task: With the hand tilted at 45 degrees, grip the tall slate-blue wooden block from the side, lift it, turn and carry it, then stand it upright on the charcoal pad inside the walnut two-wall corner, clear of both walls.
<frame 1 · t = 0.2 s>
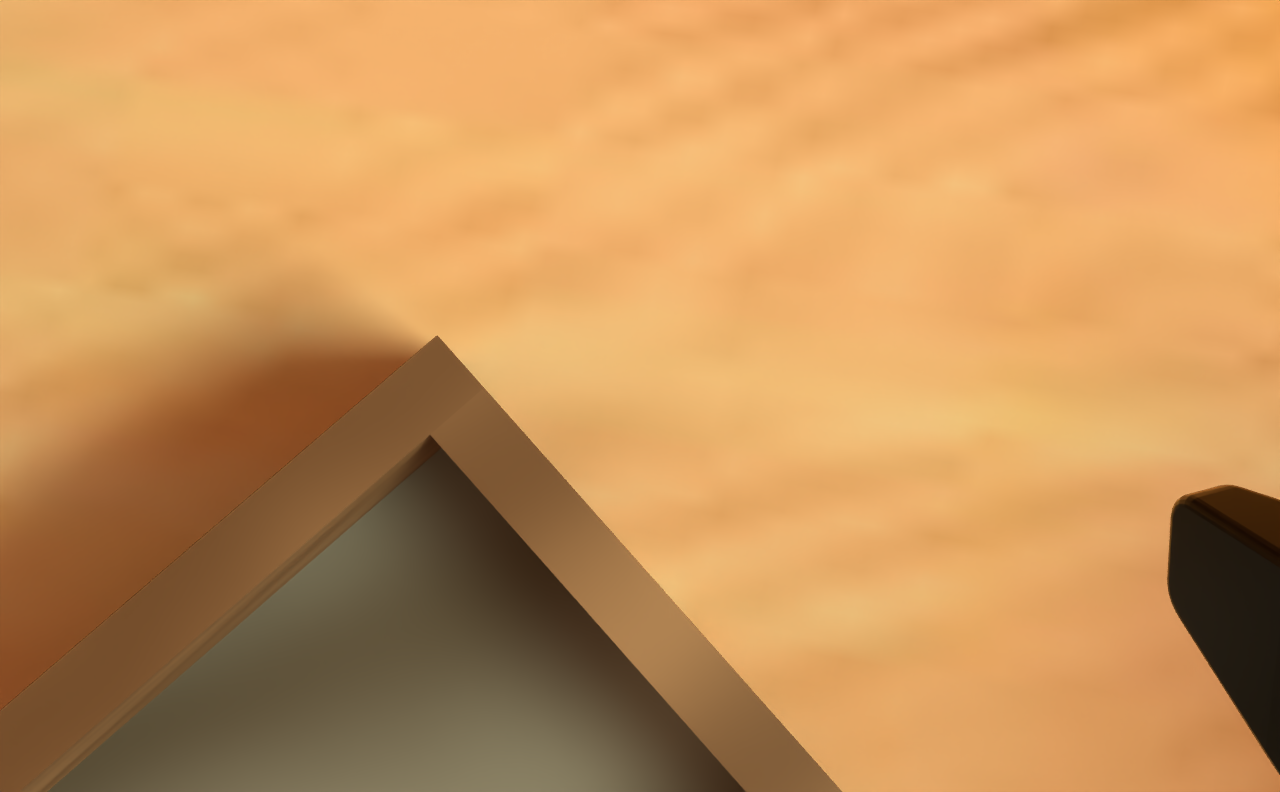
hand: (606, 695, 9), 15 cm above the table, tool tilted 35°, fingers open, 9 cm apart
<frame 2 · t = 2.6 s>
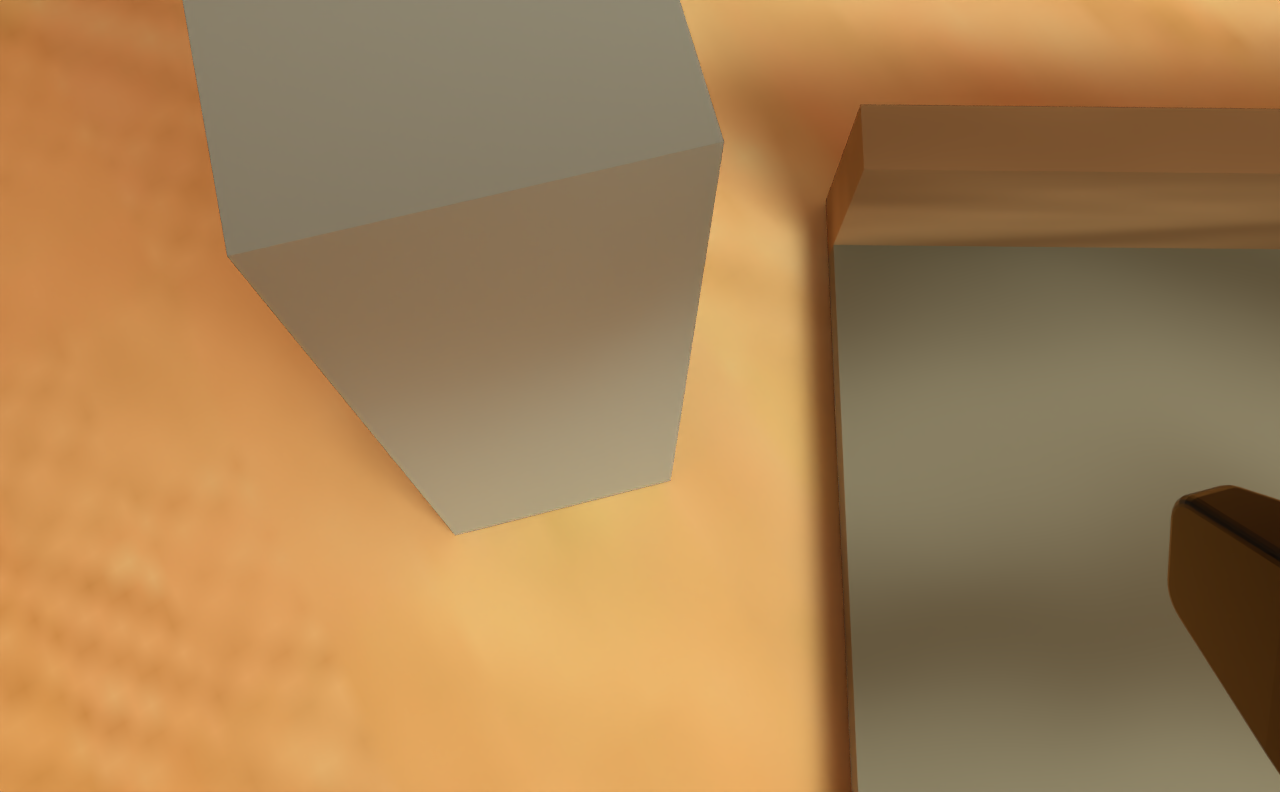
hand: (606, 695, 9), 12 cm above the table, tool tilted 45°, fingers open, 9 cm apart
slate block: (538, 404, 22), on the table
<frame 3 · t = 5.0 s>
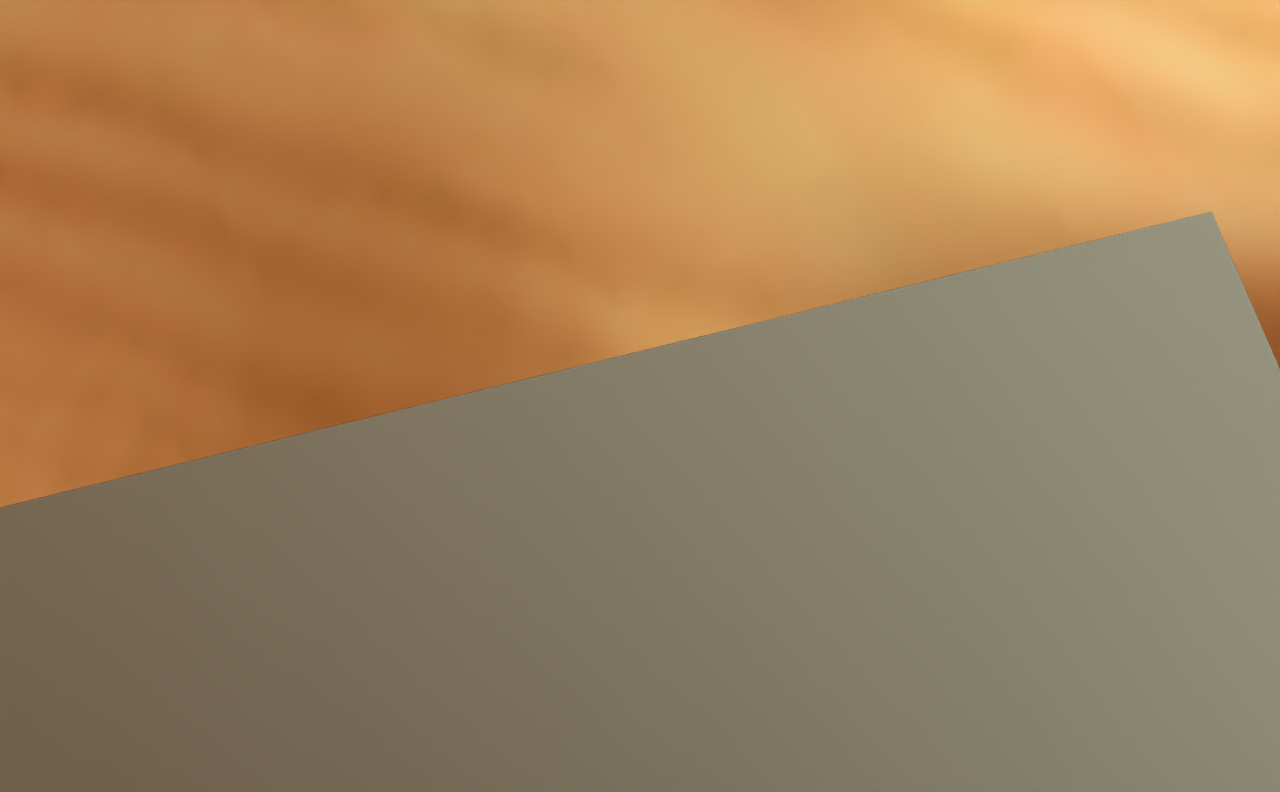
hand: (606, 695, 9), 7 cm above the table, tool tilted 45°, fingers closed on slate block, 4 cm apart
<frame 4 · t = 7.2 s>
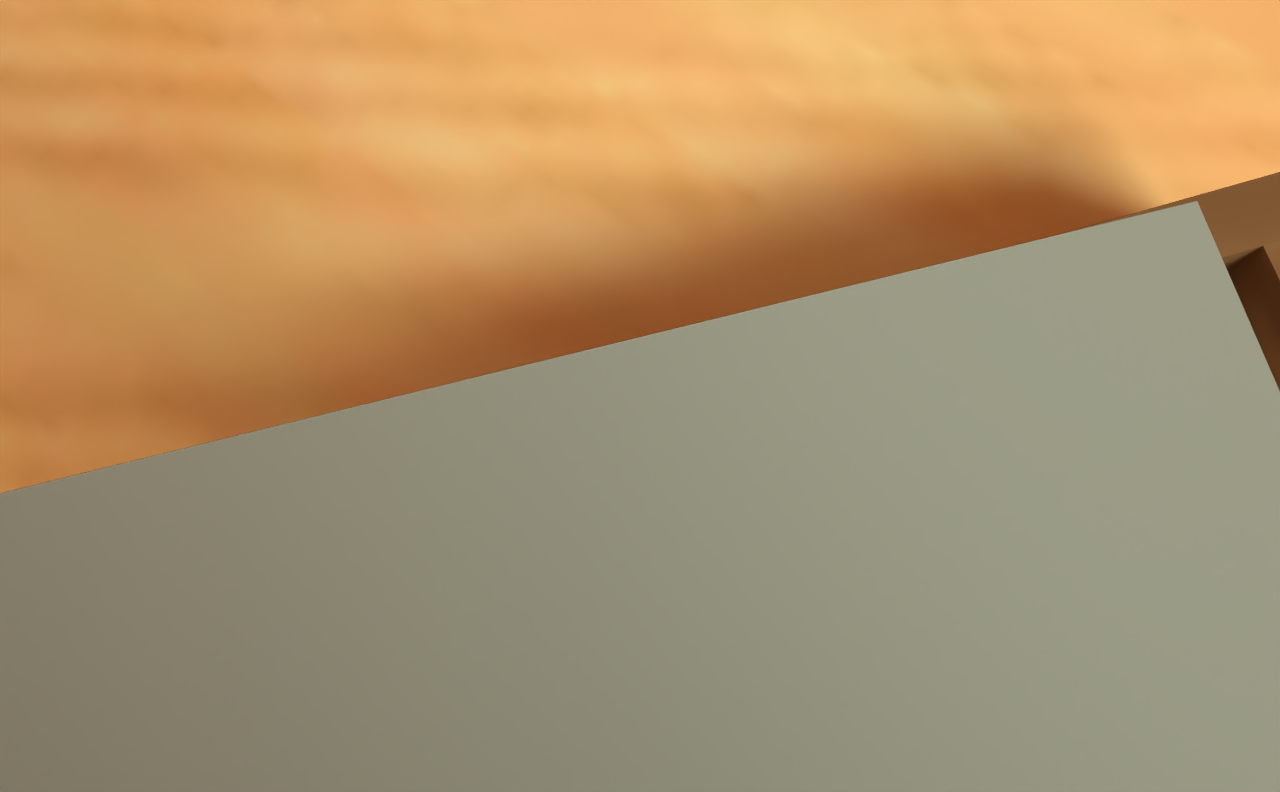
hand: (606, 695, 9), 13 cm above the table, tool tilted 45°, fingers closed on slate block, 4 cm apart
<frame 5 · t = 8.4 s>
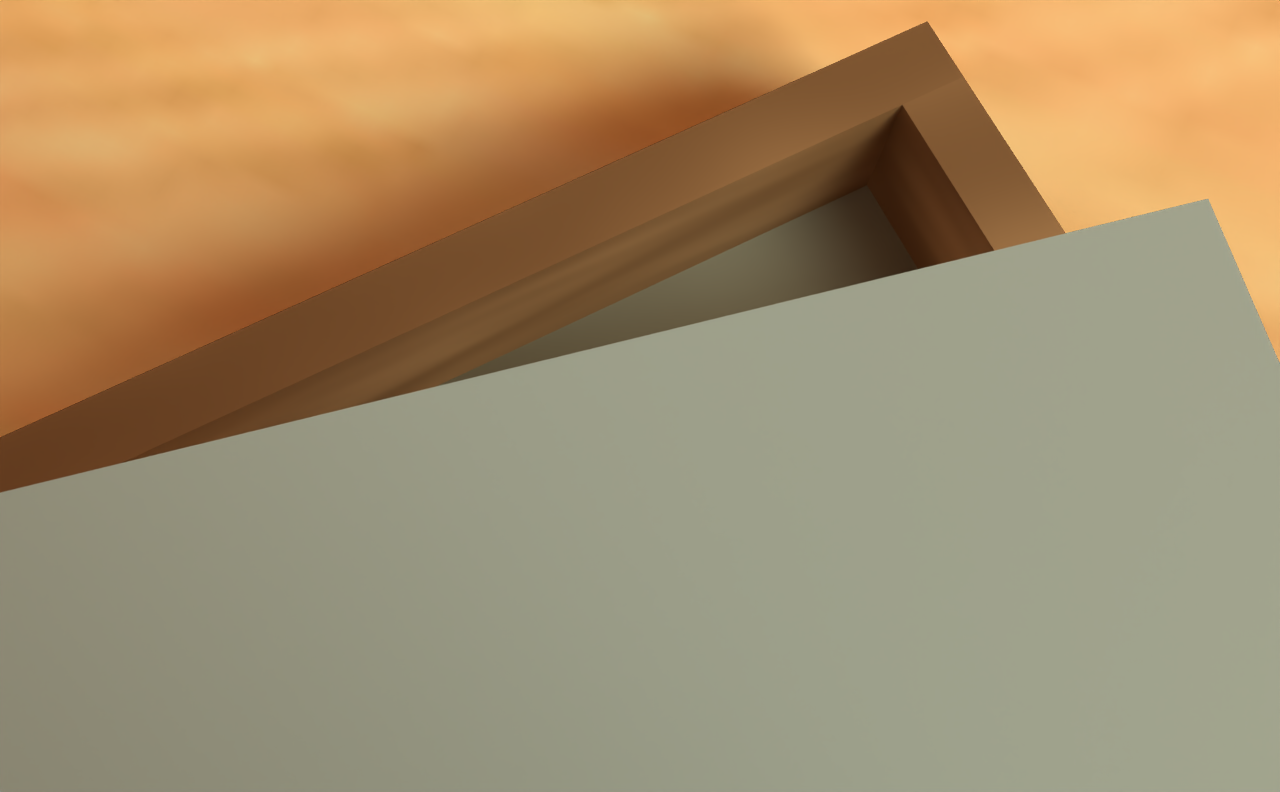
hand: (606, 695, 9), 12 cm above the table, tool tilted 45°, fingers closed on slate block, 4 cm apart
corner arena: (687, 769, 20), on the table
when the fingers open (8 cm above the table, at t = 9.5 s): slate block drops 1 cm, resting on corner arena.
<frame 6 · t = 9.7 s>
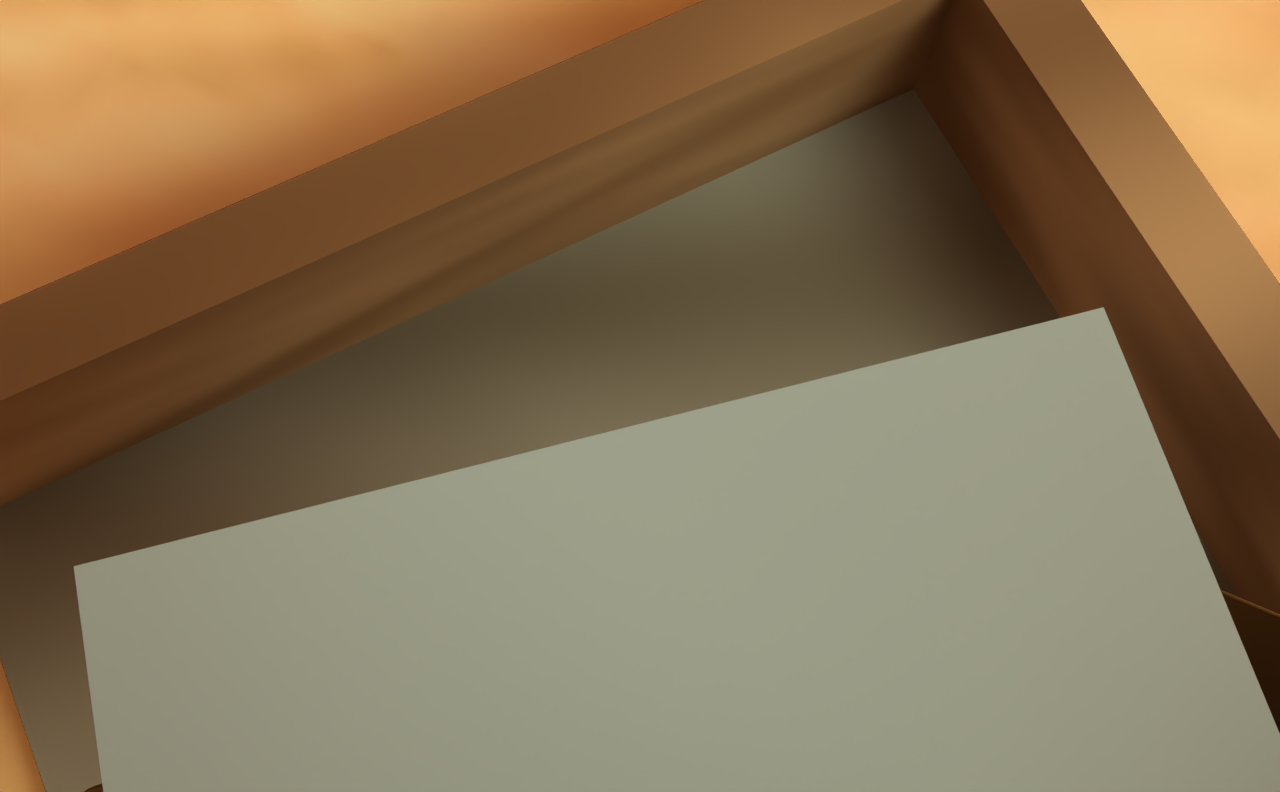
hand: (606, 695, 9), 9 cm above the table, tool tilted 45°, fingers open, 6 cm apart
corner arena: (703, 784, 17), on the table
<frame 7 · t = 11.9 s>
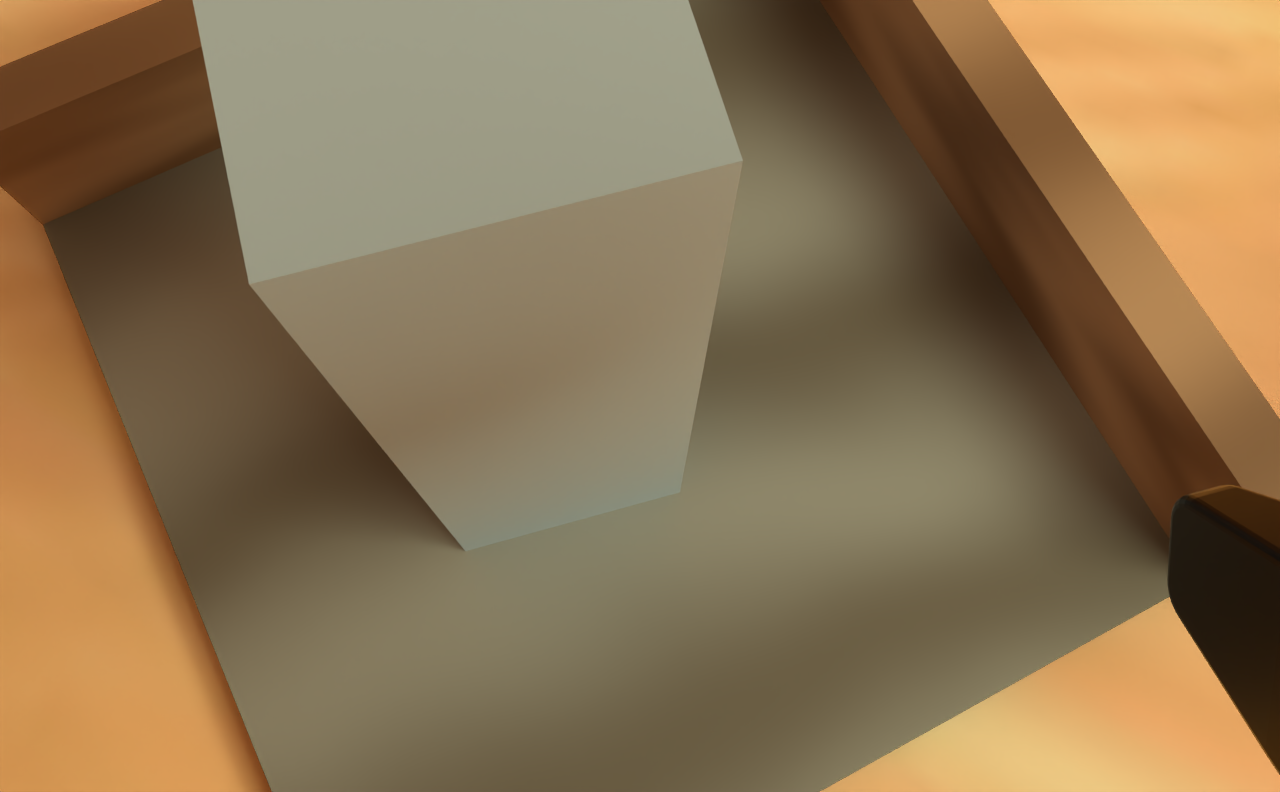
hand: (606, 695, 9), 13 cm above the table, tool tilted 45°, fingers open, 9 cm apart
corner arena: (596, 404, 22), on the table
slate block: (546, 418, 22), point 1 cm above the table, touching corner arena
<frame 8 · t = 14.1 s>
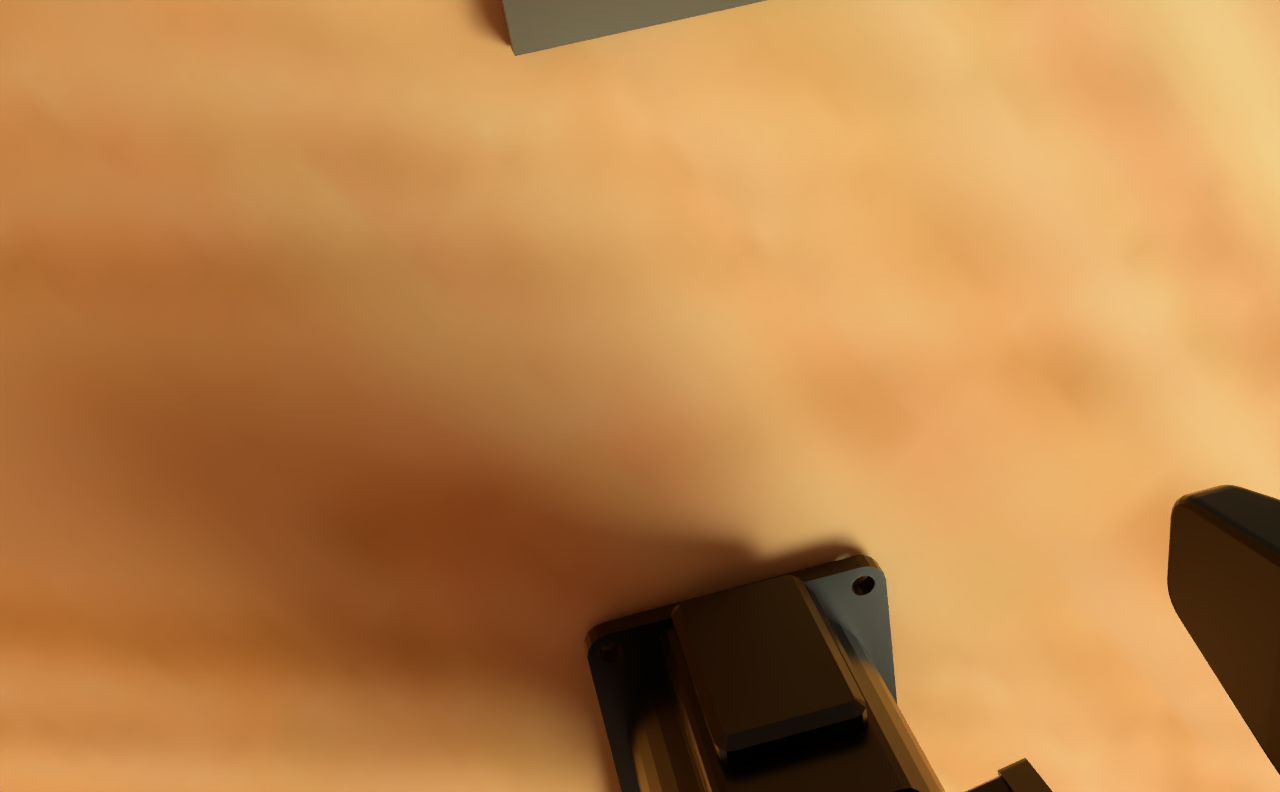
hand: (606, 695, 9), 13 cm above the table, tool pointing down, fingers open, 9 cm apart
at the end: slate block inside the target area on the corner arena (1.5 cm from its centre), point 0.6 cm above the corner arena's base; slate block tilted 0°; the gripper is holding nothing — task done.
